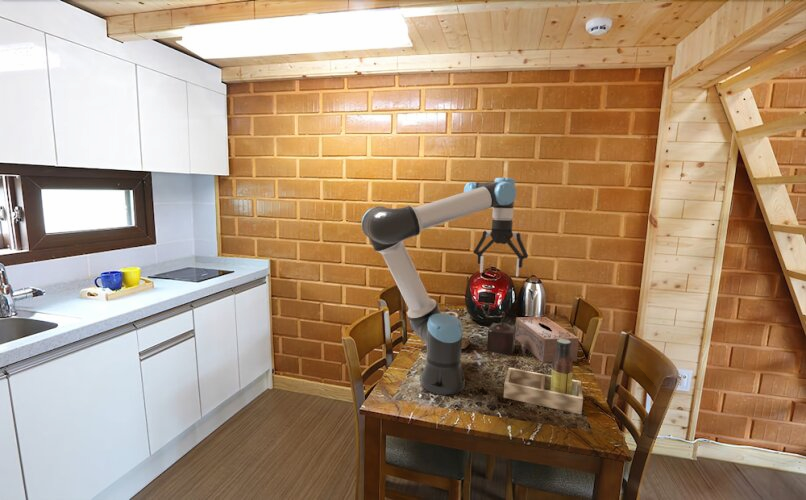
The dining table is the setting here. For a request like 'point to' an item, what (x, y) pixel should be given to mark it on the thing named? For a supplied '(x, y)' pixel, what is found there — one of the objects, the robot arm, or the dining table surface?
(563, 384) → the sauce bottle
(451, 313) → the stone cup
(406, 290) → the robot arm
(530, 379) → the birch caddy
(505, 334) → the manual coffee grinder
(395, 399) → the dining table surface
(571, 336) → the tissue box cover
